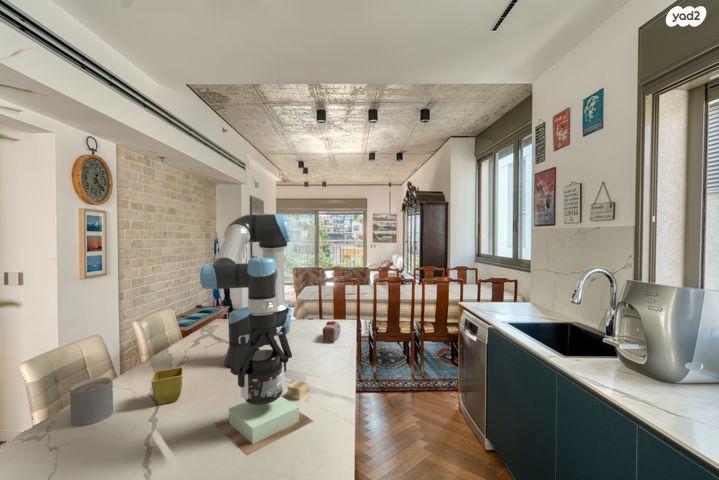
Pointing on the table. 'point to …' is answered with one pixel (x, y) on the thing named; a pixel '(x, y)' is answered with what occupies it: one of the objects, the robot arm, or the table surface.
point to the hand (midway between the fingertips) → (263, 390)
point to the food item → (331, 332)
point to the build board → (250, 448)
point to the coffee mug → (91, 401)
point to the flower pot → (167, 385)
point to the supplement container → (264, 377)
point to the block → (298, 390)
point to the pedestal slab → (263, 418)
